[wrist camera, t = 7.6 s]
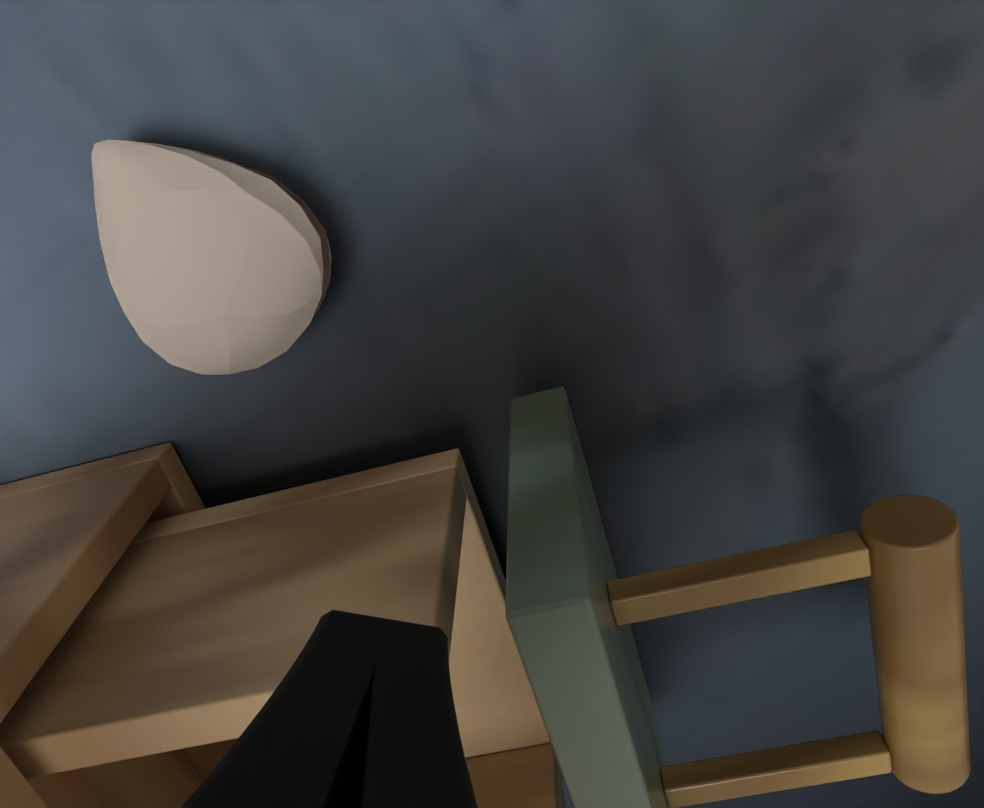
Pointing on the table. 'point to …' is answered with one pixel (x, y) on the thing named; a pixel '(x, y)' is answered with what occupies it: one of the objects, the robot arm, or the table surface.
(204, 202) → the beige pebble
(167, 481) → the cabinet
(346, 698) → the robot arm
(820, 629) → the table surface
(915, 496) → the drawer
